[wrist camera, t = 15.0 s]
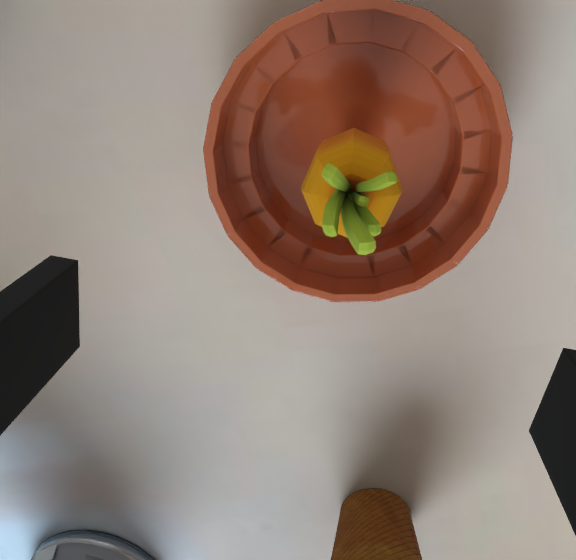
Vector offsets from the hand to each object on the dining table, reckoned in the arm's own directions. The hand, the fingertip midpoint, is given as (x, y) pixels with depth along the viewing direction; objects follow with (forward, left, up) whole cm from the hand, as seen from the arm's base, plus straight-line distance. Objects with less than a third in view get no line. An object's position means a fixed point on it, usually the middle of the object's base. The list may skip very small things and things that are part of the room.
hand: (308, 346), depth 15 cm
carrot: (0, -1, -24) cm, 24 cm away
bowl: (0, -1, -24) cm, 24 cm away
